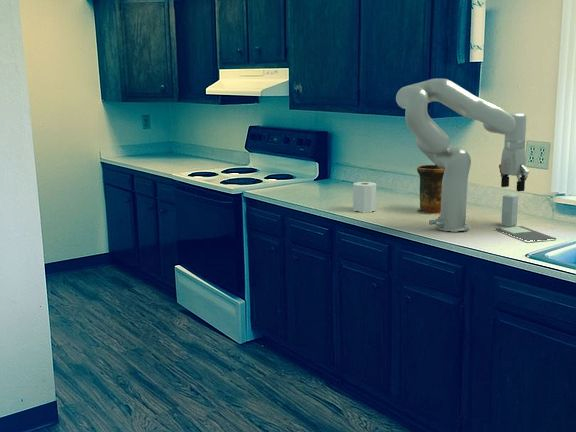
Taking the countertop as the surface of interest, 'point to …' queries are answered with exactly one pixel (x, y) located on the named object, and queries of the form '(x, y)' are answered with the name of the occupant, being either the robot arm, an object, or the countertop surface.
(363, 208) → the toilet paper
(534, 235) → the mat
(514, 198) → the skincare box
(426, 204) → the vessel
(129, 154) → the countertop surface
